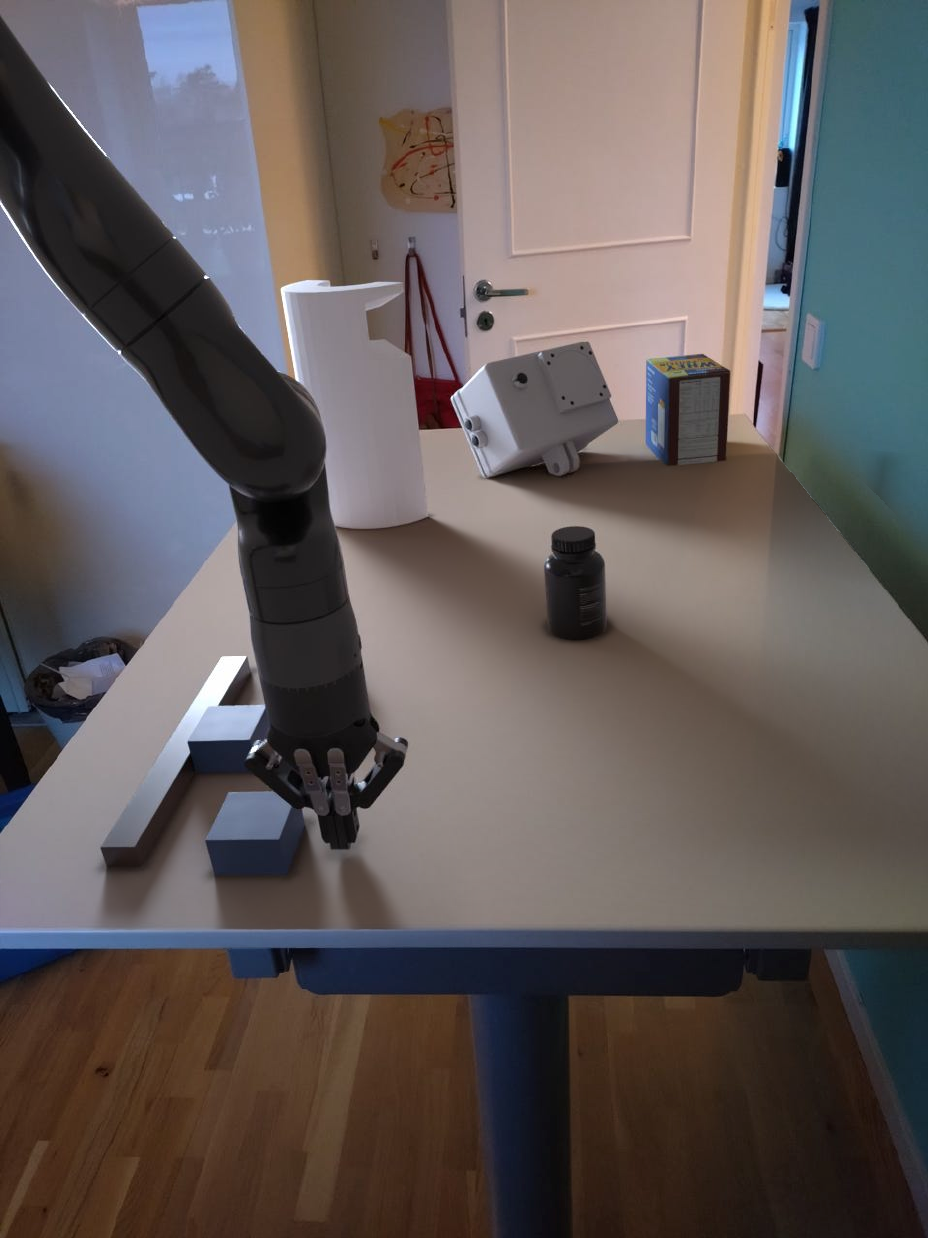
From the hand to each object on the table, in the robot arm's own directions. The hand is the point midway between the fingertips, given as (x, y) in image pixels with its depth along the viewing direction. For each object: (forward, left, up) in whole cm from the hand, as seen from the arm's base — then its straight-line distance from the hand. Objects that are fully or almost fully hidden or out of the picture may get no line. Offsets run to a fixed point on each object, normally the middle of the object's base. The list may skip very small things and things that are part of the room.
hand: (343, 842), depth 73 cm
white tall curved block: (-13, +78, -1) cm, 79 cm away
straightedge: (-18, +14, -1) cm, 23 cm away
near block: (-7, 0, -1) cm, 7 cm away
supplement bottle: (+20, +37, -1) cm, 42 cm away
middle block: (-13, +14, -1) cm, 19 cm away
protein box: (+41, +102, -1) cm, 110 cm away
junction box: (+15, +99, -1) cm, 100 cm away
